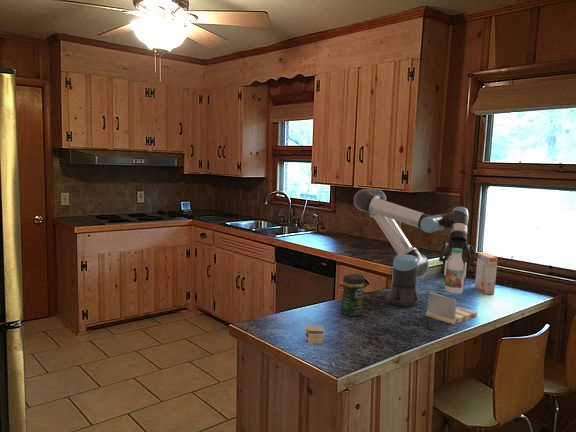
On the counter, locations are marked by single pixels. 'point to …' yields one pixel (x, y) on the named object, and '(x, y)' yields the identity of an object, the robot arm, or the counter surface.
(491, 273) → the cracker box
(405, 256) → the robot arm
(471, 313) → the shelf board
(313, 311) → the counter surface
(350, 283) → the coffee jar
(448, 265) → the milk bottle
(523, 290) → the counter surface
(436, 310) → the bookend
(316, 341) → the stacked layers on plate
